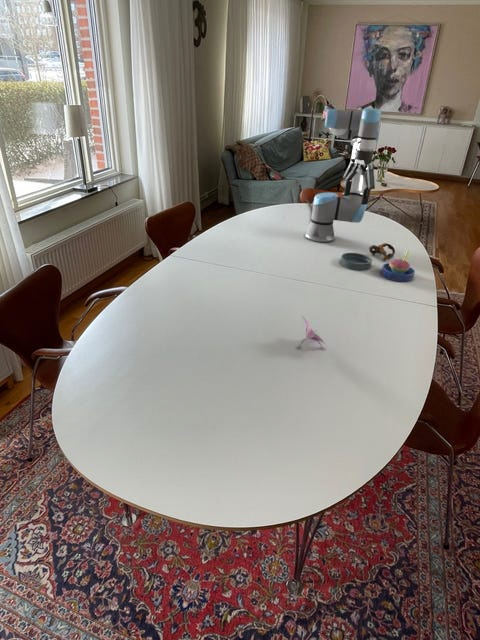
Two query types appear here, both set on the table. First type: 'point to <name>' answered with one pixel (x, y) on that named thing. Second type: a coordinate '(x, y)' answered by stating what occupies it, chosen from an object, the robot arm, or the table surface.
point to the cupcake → (399, 265)
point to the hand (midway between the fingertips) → (354, 199)
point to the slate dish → (356, 261)
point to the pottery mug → (382, 251)
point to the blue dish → (388, 273)
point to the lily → (311, 334)
